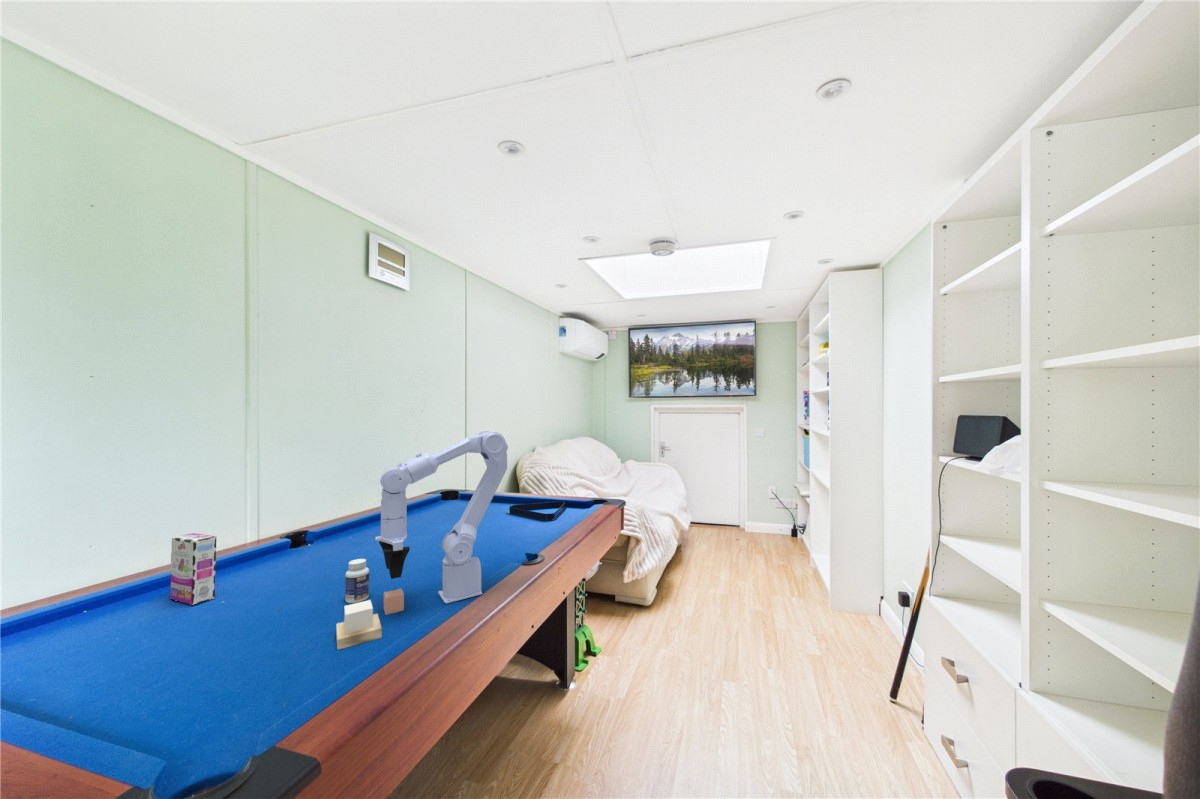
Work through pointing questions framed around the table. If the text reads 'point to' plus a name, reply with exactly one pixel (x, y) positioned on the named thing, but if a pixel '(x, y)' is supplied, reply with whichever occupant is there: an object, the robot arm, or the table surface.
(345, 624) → the cream cube
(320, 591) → the table surface
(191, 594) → the candy bar box
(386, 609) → the terracotta cube
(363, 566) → the pill bottle
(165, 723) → the table surface
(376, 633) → the oak slab
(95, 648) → the table surface
